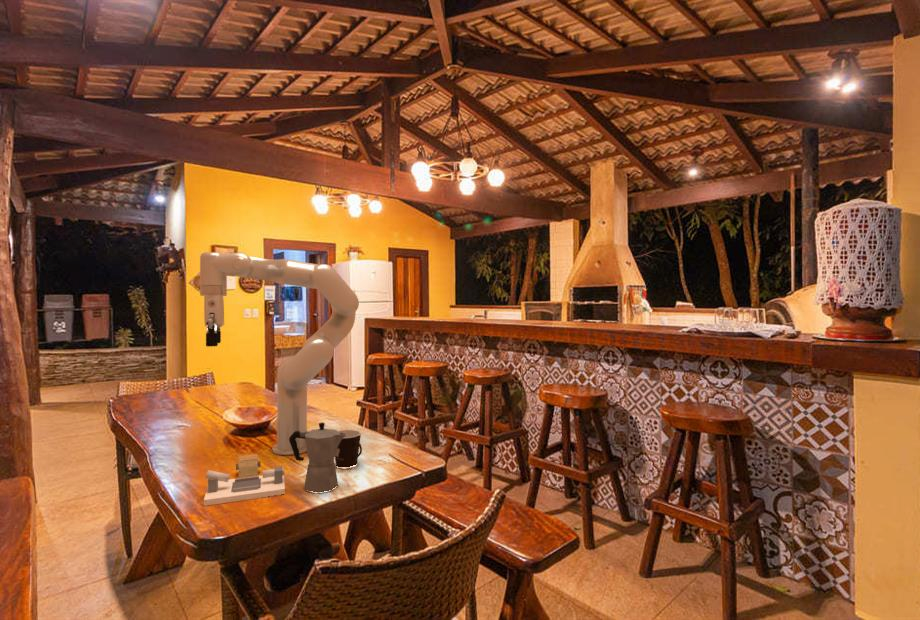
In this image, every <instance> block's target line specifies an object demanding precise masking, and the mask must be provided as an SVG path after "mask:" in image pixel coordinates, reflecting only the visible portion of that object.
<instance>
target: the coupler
mask: <svg viewBox="0 0 920 620" xmlns="http://www.w3.org/2000/svg"><path fill="white" fill-rule="evenodd" d="M261 463H262V462H261V460H259V453H251V454H245V455H239V456H238V463H236V464H235V470H236V471H238V478H245V477H244V476H247V477H253V475H256V476H258V475H257V474H259V473H258V472H259V471H258V470H259V468H261V467H262V466H261Z"/></svg>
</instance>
